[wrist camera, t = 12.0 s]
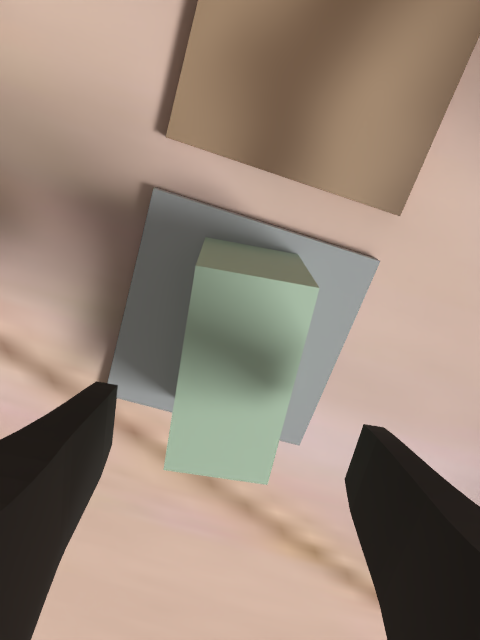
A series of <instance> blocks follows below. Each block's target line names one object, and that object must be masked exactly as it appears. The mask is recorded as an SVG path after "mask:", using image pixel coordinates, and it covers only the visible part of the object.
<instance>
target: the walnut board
mask: <svg viewBox="0 0 480 640" xmlns="http://www.w3.org/2000/svg"><path fill="white" fill-rule="evenodd" d="M479 35H480V0H198V2H197V7H196V11H195V15H194V19H193V23H192V28H191V32H190V36H189V40H188V45H187V49H186V53H185V57H184V62H183V66H182V70H181V74H180V78H179V83H178V87H177V91H176V95H175V100H174V104H173V108H172V112H171V117H170V121H169V125H168V129H167V133H166V137H167V138H170V139H173V140H176V141H179V142H182V143H185V144H188V145H191V146H194V147H197V148H200V149H203V150H205V151H208V152H211V153H214V154H217V155H220V156H223V157H226V158H229V159H232V160H235V161H238V162H241V163H244V164H247V165H250V166H253V167H256V168H259V169H262V170H265V171H268V172H271V173H274V174H277V175H279V176H282V177H285V178H288V179H291V180H294V181H297V182H300V183H303V184H306V185H309V186H312V187H315V188H318V189H321V190H324V191H327V192H330V193H333V194H336V195H339V196H342V197H345V198H348V199H351V200H354V201H356V202H359V203H362V204H365V205H368V206H371V207H374V208H377V209H380V210H383V211H386V212H389V213H392V214H395V215H398V216H400V215H401V213H402V211H403V208H404V206H405V204H406V201H407V199H408V197H409V195H410V192H411V190H412V188H413V185H414V183H415V181H416V179H417V176H418V174H419V172H420V170H421V167H422V165H423V163H424V160H425V158H426V156H427V154H428V151H429V149H430V147H431V145H432V142H433V140H434V138H435V135H436V133H437V131H438V129H439V126H440V124H441V122H442V119H443V117H444V115H445V113H446V110H447V108H448V106H449V104H450V101H451V99H452V97H453V94H454V92H455V90H456V88H457V85H458V83H459V81H460V78H461V76H462V74H463V72H464V69H465V67H466V65H467V63H468V60H469V58H470V56H471V53H472V51H473V49H474V47H475V44H476V42H477V40H478V38H479Z"/></svg>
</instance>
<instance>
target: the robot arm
mask: <svg viewBox="0 0 480 640" xmlns="http://www.w3.org/2000/svg"><path fill="white" fill-rule="evenodd" d="M117 389H118V385H114V384H108V383H102V382H95V383H93V384H92V385H90V386H89V387H87V388H86V389H84V390H83V391H81V392H80V393H78V394H77V395H75V396H74V397H72V398H71V399H69V400H68V401H67V402H65V403H64V404H62V405H60V406H59V407H57V408H56V409H54V410H53V411H51V412H50V413H48V414H46V415H45V416H43V417H41V418H40V419H38V420H36V421H34V422H33V423H31V424H29V425H27V426H26V427H24V428H22V429H20V430H19V431H17V432H15V433H13V434H11V435H9V436H7V437H5V438H3V439H1V440H0V640H31V638H32V635H33V632H34V630H35V627H36V624H37V621H38V619H39V616H40V613H41V610H42V608H43V605H44V602H45V600H46V597H47V594H48V592H49V589H50V586H51V584H52V581H53V578H54V576H55V573H56V570H57V568H58V565H59V563H60V561H61V558H62V556H63V554H64V551H65V549H66V547H67V545H68V543H69V541H70V539H71V537H72V535H73V533H74V531H75V529H76V527H77V525H78V523H79V521H80V519H81V516H82V514H83V512H84V510H85V508H86V506H87V504H88V502H89V500H90V498H91V496H92V494H93V492H94V490H95V488H96V486H97V484H98V482H99V479H100V477H101V475H102V472H103V469H104V466H105V464H106V461H107V458H108V455H109V452H110V449H111V446H112V438H113V428H114V418H115V409H116V399H117ZM345 484H346V491H347V497H348V502H349V507H350V512H351V515H352V519H353V522H354V525H355V528H356V531H357V535H358V538H359V541H360V544H361V547H362V550H363V553H364V556H365V559H366V562H367V565H368V568H369V571H370V575H371V578H372V581H373V584H374V587H375V590H376V594H377V597H378V601H379V604H380V608H381V613H382V617H383V622H384V626H385V631H386V636H387V640H480V507H479V506H478V505H477V504H475V503H474V502H473V501H471V500H470V499H469V498H467V497H466V496H465V495H464V494H462V493H461V492H460V491H459V490H457V489H456V488H455V487H454V486H452V485H451V484H450V483H449V482H447V481H446V480H445V479H444V478H443V477H441V476H440V475H439V474H438V473H437V472H436V471H434V470H433V469H432V468H431V467H430V466H429V465H428V464H426V463H425V462H424V461H423V460H422V459H421V458H420V457H418V456H417V455H416V454H415V453H414V452H413V451H412V450H410V449H409V448H408V447H407V446H406V445H405V444H404V443H402V442H401V441H400V440H399V439H398V438H397V437H395V436H394V435H393V434H392V433H391V432H389V431H388V430H387V429H385V428H384V427H378V426H372V425H365V424H364V425H363V428H362V431H361V434H360V437H359V439H358V442H357V445H356V448H355V451H354V454H353V457H352V460H351V463H350V466H349V468H348V471H347V474H346V477H345Z"/></svg>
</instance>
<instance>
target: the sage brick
mask: <svg viewBox="0 0 480 640" xmlns="http://www.w3.org/2000/svg"><path fill="white" fill-rule="evenodd" d="M319 289H320V288H319V286H318V285H317V283H316V282H315V280H314V278H313V277H312V275H311V274H310V272H309V271H308V269H307V268H306V266H305V264H304V263H303V261H302V260H301V258H300V257H299V255H298V254H293V253H288V252H283V251H277V250H272V249H267V248H261V247H256V246H251V245H245V244H240V243H235V242H229V241H224V240H219V239H213V238H208V237H205V240H204V243H203V246H202V249H201V252H200V254H199V257H198V260H197V263H196V266H195V273H194V279H193V285H192V292H191V298H190V304H189V311H188V317H187V324H186V330H185V336H184V343H183V349H182V356H181V362H180V368H179V375H178V381H177V387H176V394H175V400H174V407H173V413H172V419H171V426H170V432H169V438H168V445H167V451H166V458H165V464H164V470H167V471H174V472H181V473H188V474H195V475H202V476H209V477H216V478H223V479H230V480H237V481H244V482H251V483H258V484H265V485H267V484H268V481H269V477H270V473H271V469H272V466H273V462H274V458H275V454H276V450H277V447H278V443H279V439H280V435H281V432H282V428H283V424H284V420H285V417H286V413H287V409H288V405H289V402H290V398H291V394H292V390H293V386H294V383H295V379H296V375H297V371H298V368H299V364H300V360H301V356H302V353H303V349H304V345H305V341H306V338H307V334H308V330H309V326H310V322H311V319H312V315H313V311H314V307H315V304H316V300H317V296H318V292H319Z"/></svg>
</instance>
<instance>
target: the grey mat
mask: <svg viewBox="0 0 480 640" xmlns="http://www.w3.org/2000/svg"><path fill="white" fill-rule="evenodd" d="M205 237H208V238H213V239H219V240H224V241H229V242H235V243H240V244H245V245H251V246H256V247H261V248H267V249H272V250H277V251H283V252H288V253H293V254H298V255H299V257H300V258H301V260H302V261H303V263H304V264H305V266H306V268H307V269H308V271H309V272H310V274H311V275H312V277H313V278H314V280H315V282H316V283H317V285H318V286H319V288H320V289H319V292H318V296H317V300H316V304H315V307H314V311H313V315H312V319H311V322H310V326H309V330H308V334H307V338H306V341H305V345H304V349H303V353H302V356H301V360H300V364H299V368H298V371H297V375H296V379H295V383H294V386H293V390H292V394H291V398H290V402H289V405H288V409H287V413H286V417H285V420H284V424H283V428H282V432H281V435H280V439H279V440H280V441H284V442H288V443H291V444H295V445H300V443H301V440H302V438H303V436H304V434H305V431H306V429H307V427H308V425H309V422H310V420H311V418H312V415H313V413H314V411H315V409H316V406H317V404H318V402H319V399H320V397H321V395H322V393H323V390H324V388H325V386H326V384H327V381H328V379H329V377H330V374H331V372H332V370H333V368H334V365H335V363H336V361H337V358H338V356H339V354H340V352H341V349H342V347H343V345H344V343H345V340H346V338H347V336H348V333H349V331H350V329H351V327H352V324H353V322H354V320H355V318H356V315H357V313H358V311H359V308H360V306H361V304H362V302H363V299H364V297H365V295H366V292H367V290H368V288H369V286H370V283H371V281H372V279H373V277H374V274H375V272H376V270H377V267H378V265H379V263H380V261H379V260H378V259H376V258H374V257H371V256H367V255H364V254H361V253H358V252H355V251H352V250H349V249H346V248H343V247H340V246H336V245H333V244H330V243H327V242H324V241H321V240H318V239H315V238H312V237H309V236H305V235H302V234H299V233H296V232H293V231H290V230H287V229H284V228H281V227H278V226H274V225H271V224H268V223H265V222H262V221H259V220H256V219H253V218H250V217H247V216H244V215H240V214H237V213H234V212H231V211H228V210H225V209H222V208H219V207H216V206H213V205H209V204H206V203H203V202H200V201H197V200H194V199H191V198H188V197H185V196H182V195H178V194H175V193H172V192H169V191H166V190H163V189H160V188H157V187H155V188H153V193H152V197H151V201H150V205H149V210H148V214H147V218H146V222H145V226H144V231H143V235H142V239H141V243H140V248H139V252H138V256H137V260H136V264H135V269H134V273H133V277H132V281H131V286H130V290H129V294H128V298H127V303H126V307H125V311H124V315H123V319H122V324H121V328H120V332H119V336H118V341H117V345H116V349H115V353H114V357H113V362H112V366H111V370H110V374H109V379H108V384H114V385H118V389H117V398H119V399H122V400H126V401H130V402H134V403H138V404H142V405H146V406H149V407H153V408H157V409H161V410H165V411H169V412H172V413H173V407H174V400H175V394H176V387H177V381H178V375H179V368H180V362H181V356H182V349H183V343H184V336H185V330H186V324H187V317H188V311H189V304H190V298H191V292H192V285H193V279H194V273H195V266H196V263H197V260H198V257H199V254H200V252H201V249H202V246H203V243H204V240H205Z"/></svg>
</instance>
